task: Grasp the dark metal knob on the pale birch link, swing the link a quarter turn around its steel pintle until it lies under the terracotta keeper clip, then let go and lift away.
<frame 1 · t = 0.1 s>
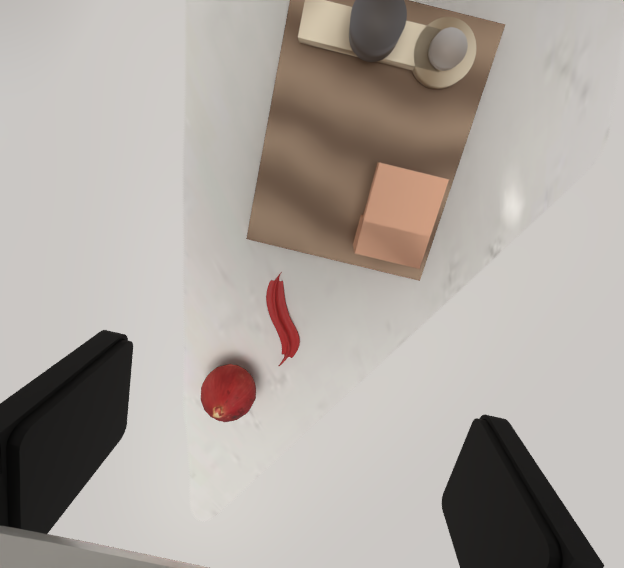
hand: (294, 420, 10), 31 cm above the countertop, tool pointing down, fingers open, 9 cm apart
keeper: (384, 234, 40), resting on board
cayenne pepper: (284, 319, 44), on the countertop
board: (362, 142, 37), on the countertop
onion: (237, 373, 46), on the countertop
link: (390, 33, 31), point 5 cm above the countertop, hinge at 0.0°
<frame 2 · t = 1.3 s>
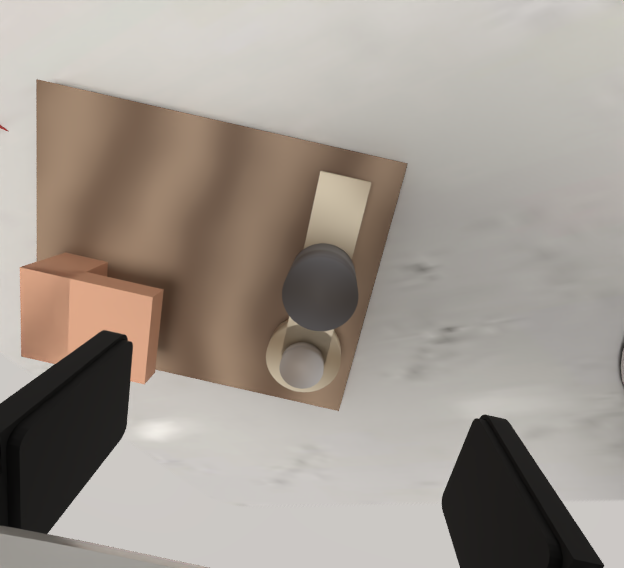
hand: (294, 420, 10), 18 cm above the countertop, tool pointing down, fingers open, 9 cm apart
keeper: (97, 290, 29), resting on board
board: (210, 257, 28), on the countertop
link: (317, 300, 23), point 5 cm above the countertop, hinge at 0.0°
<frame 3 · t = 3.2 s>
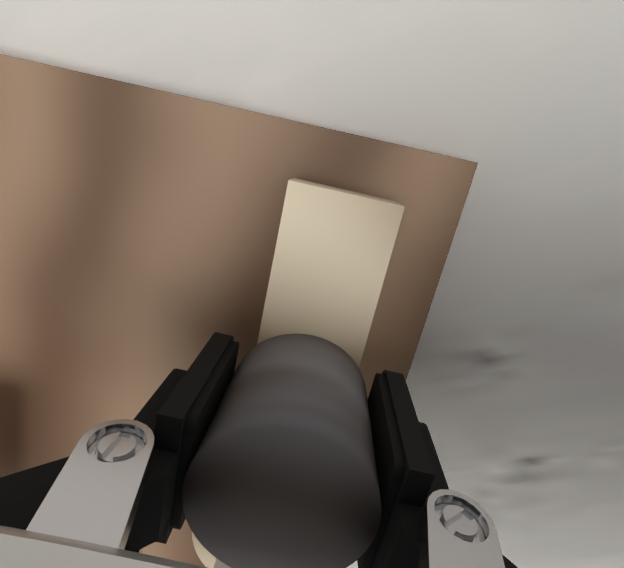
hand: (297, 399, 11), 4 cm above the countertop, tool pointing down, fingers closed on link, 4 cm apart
board: (97, 334, 15), on the countertop
link: (285, 459, 11), point 5 cm above the countertop, hinge at 0.0°, touching gripper
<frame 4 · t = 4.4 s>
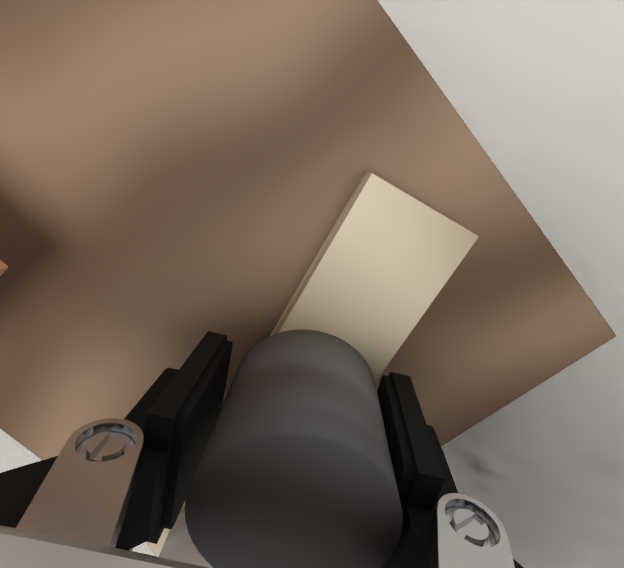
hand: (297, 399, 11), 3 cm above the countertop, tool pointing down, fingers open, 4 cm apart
board: (163, 237, 13), on the countertop
link: (278, 458, 10), point 5 cm above the countertop, hinge at 19.6°, touching gripper
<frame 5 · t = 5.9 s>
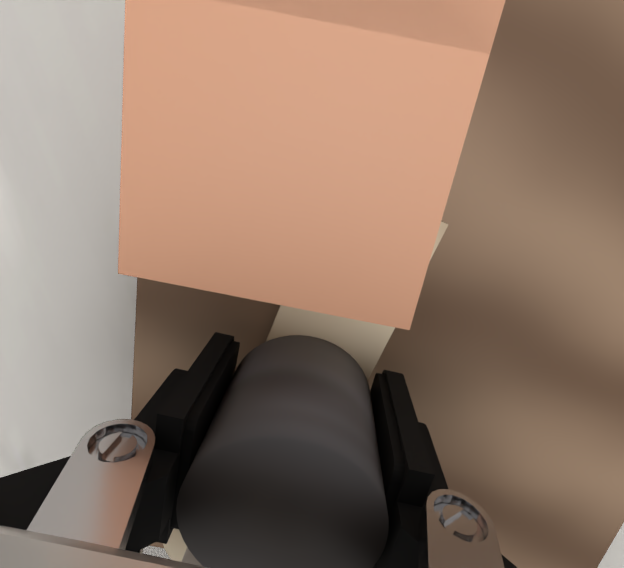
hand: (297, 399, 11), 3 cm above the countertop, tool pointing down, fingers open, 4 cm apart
keeper: (330, 22, 11), resting on board
board: (412, 310, 14), on the countertop
link: (278, 464, 10), point 5 cm above the countertop, hinge at 78.7°, touching gripper
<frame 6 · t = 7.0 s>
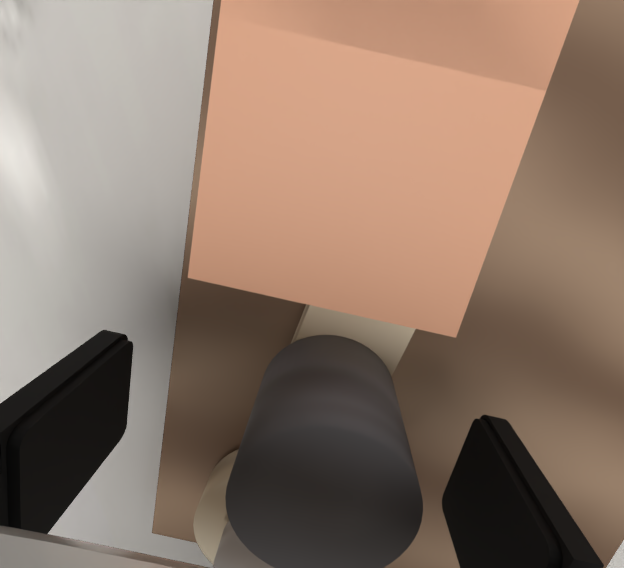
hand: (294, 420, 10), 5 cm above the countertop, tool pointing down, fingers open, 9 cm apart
keeper: (375, 45, 12), resting on board
board: (438, 317, 14), on the countertop
link: (309, 457, 11), point 5 cm above the countertop, hinge at 81.6°
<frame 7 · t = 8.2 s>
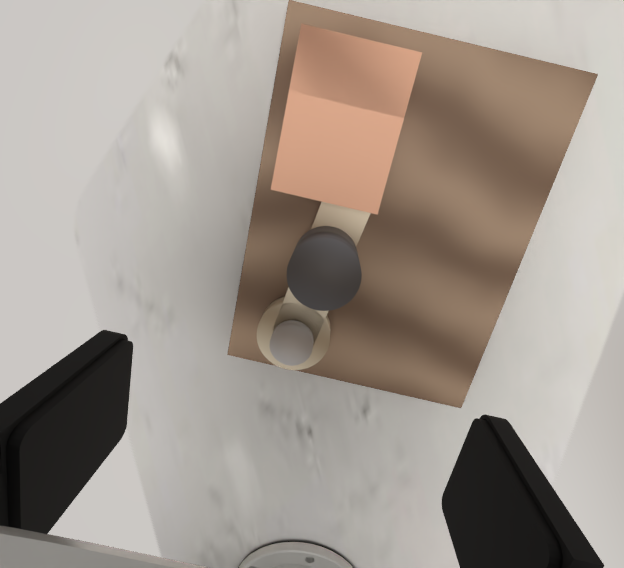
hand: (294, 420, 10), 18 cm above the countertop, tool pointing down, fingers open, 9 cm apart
keeper: (350, 90, 25), resting on board
board: (384, 229, 27), on the countertop
link: (317, 281, 24), point 5 cm above the countertop, hinge at 81.6°
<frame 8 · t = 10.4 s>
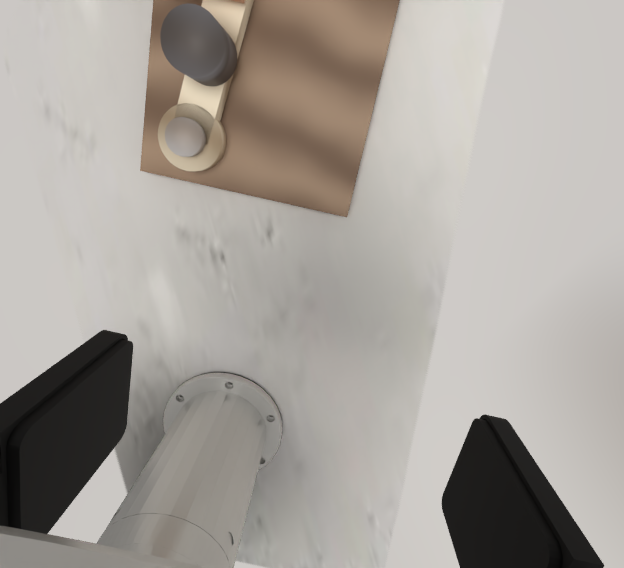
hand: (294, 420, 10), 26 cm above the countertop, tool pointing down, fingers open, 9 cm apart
board: (270, 48, 31), on the countertop
link: (200, 70, 28), point 5 cm above the countertop, hinge at 81.6°
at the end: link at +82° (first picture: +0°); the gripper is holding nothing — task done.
